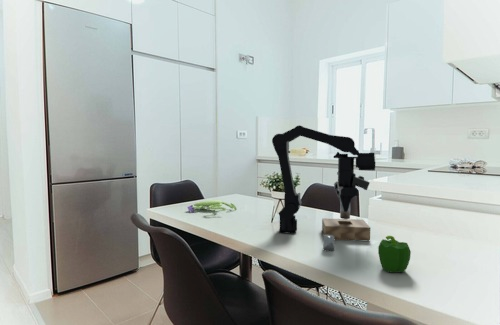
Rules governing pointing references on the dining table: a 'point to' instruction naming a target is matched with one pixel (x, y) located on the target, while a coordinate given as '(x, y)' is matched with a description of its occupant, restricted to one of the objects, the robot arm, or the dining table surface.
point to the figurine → (210, 205)
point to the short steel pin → (328, 242)
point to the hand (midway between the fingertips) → (345, 210)
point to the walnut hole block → (346, 229)
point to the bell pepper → (393, 255)
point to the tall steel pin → (344, 214)
